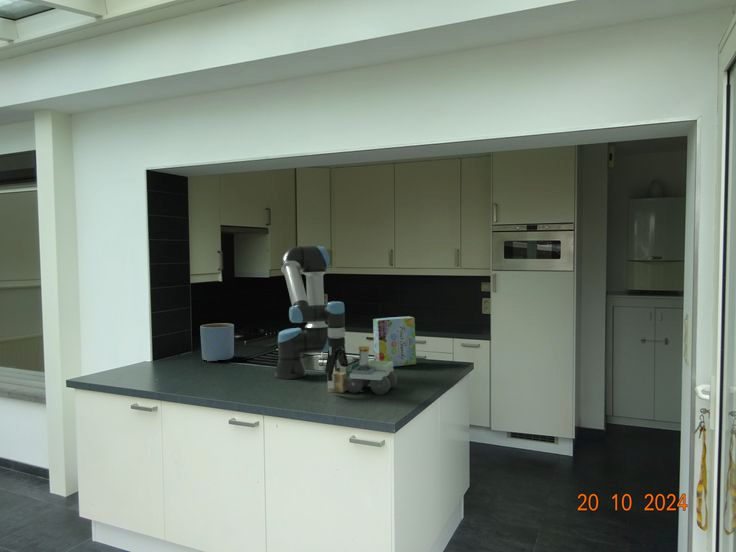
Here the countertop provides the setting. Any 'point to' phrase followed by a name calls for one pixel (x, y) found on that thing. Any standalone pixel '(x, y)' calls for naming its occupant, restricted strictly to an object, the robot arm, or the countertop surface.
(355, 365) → the bracket
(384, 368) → the tray
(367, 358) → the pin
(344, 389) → the chock
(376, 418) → the countertop surface
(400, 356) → the snack box
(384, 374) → the cart
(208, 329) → the planter
